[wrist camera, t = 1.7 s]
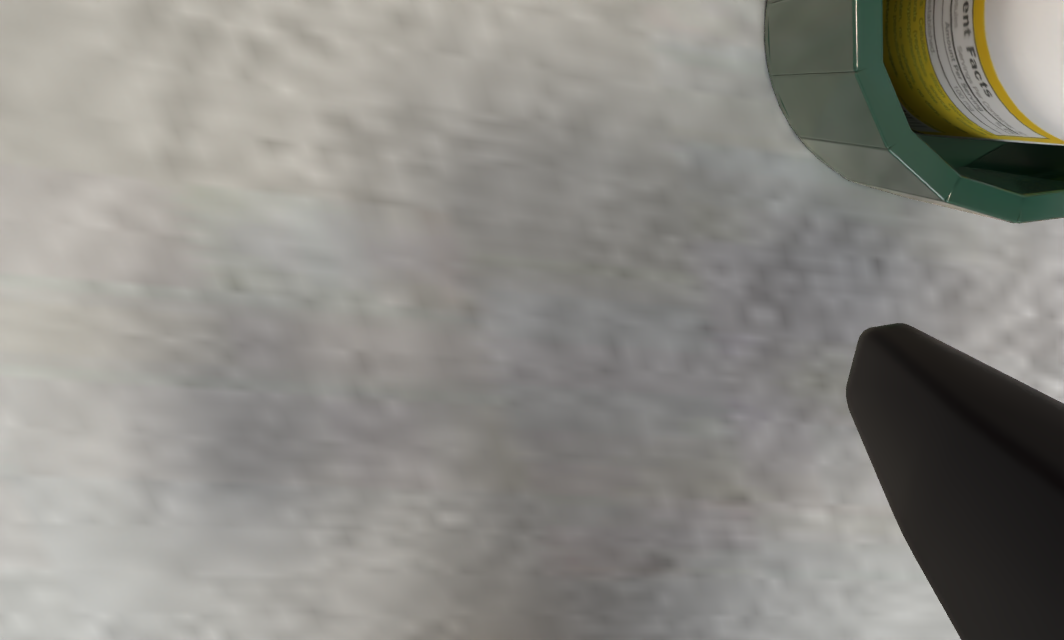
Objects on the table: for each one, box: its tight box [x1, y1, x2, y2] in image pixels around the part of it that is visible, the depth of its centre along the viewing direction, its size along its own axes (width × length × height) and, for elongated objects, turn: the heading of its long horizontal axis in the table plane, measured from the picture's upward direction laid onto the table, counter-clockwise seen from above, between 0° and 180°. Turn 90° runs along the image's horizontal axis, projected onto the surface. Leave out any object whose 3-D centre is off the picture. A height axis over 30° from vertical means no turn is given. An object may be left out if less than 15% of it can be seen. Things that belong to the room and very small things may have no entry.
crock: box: [765, 0, 1064, 223], centre depth 19 cm, size 8×8×5 cm
